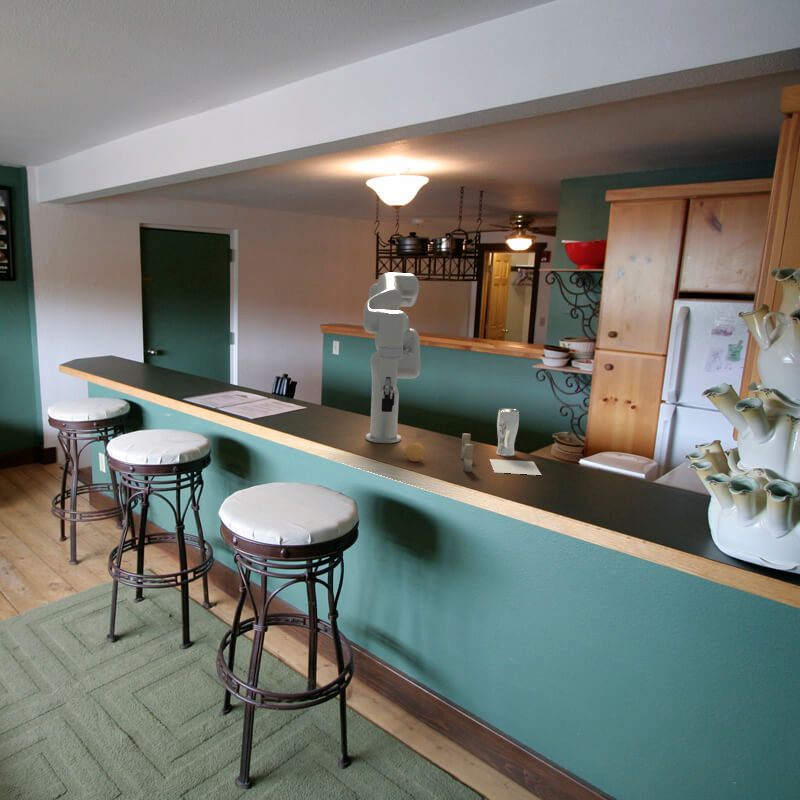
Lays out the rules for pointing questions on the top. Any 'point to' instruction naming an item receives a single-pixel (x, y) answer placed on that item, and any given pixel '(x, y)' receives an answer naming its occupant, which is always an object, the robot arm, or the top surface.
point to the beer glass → (507, 431)
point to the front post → (468, 458)
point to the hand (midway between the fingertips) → (387, 408)
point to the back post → (464, 441)
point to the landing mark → (514, 467)
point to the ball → (415, 452)
